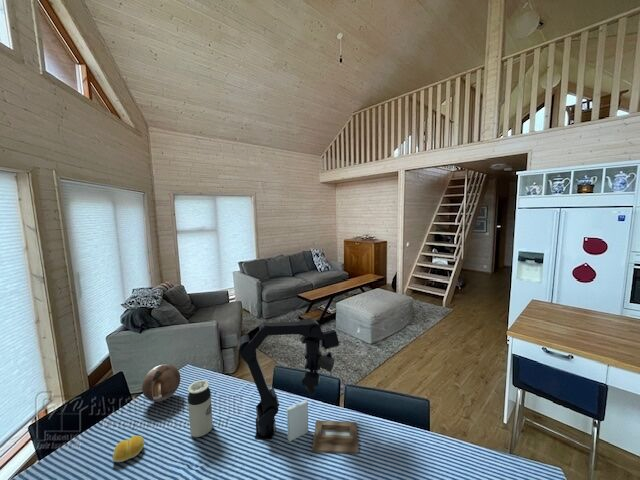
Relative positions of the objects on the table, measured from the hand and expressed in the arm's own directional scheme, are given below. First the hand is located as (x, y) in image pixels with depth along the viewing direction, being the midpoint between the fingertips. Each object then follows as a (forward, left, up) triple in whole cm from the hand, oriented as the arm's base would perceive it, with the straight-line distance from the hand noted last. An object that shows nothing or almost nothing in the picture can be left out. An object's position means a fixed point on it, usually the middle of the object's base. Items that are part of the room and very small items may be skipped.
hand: (313, 387), depth 106 cm
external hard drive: (-5, -9, -13) cm, 17 cm away
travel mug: (-43, -9, -13) cm, 46 cm away
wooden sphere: (-71, +7, -13) cm, 73 cm away
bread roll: (-63, -17, -13) cm, 67 cm away
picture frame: (+9, -9, -13) cm, 18 cm away
